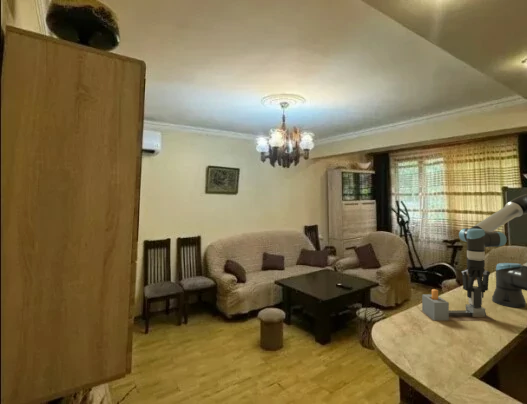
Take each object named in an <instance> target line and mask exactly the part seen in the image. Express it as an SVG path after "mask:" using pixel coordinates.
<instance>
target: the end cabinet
mask: <svg viewBox="0 0 527 404" xmlns="http://www.w3.org/2000/svg"><path fill="white" fill-rule="evenodd" d="M421 298H422V299H421V300H422V301H421V306H422V307H421V308H422V309H421V311H423V312H424V313H426V314H427V315H428V316H429V317H431V318H432V319H433V320H449V308H450V307H449V305H450V303H449V301H447V300H445V299H444V298H442V297H440V296H439V295H438V300H432V293H431V294H426V293H425V294H424V293H423V294H421ZM429 317H428V318H429Z"/></svg>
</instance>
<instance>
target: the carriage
mask: <svg viewBox="0 0 527 404" xmlns="http://www.w3.org/2000/svg"><path fill="white" fill-rule="evenodd" d="M472 292H474V305H472V304H470V303H466V304H465V310H469V311H470V312H472V317H485V312H486V308H485V307H483V306H482V305H481V288H480V287H478V285H473V289H472Z"/></svg>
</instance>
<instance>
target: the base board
mask: <svg viewBox="0 0 527 404" xmlns="http://www.w3.org/2000/svg"><path fill="white" fill-rule="evenodd" d="M420 312H421V313H422V314H423V315H425V316H426V317H427V318H428V319H430V320H431V321H433V322H450V321H451V322H475V321H476V322H487V321H488V322H491V321H492V322H495V321H497V320H496V319H495V318H492V317H491V316H489V315H487V314H486V317H449V320H433V319H432V318H431V317H429V316H428V315H427V314H426V313H424V312H423V311H422V310H420Z"/></svg>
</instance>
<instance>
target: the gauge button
mask: <svg viewBox="0 0 527 404" xmlns="http://www.w3.org/2000/svg"><path fill="white" fill-rule="evenodd" d="M431 294H432V300H438V296H439V289H435V288H432V289H431Z"/></svg>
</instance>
